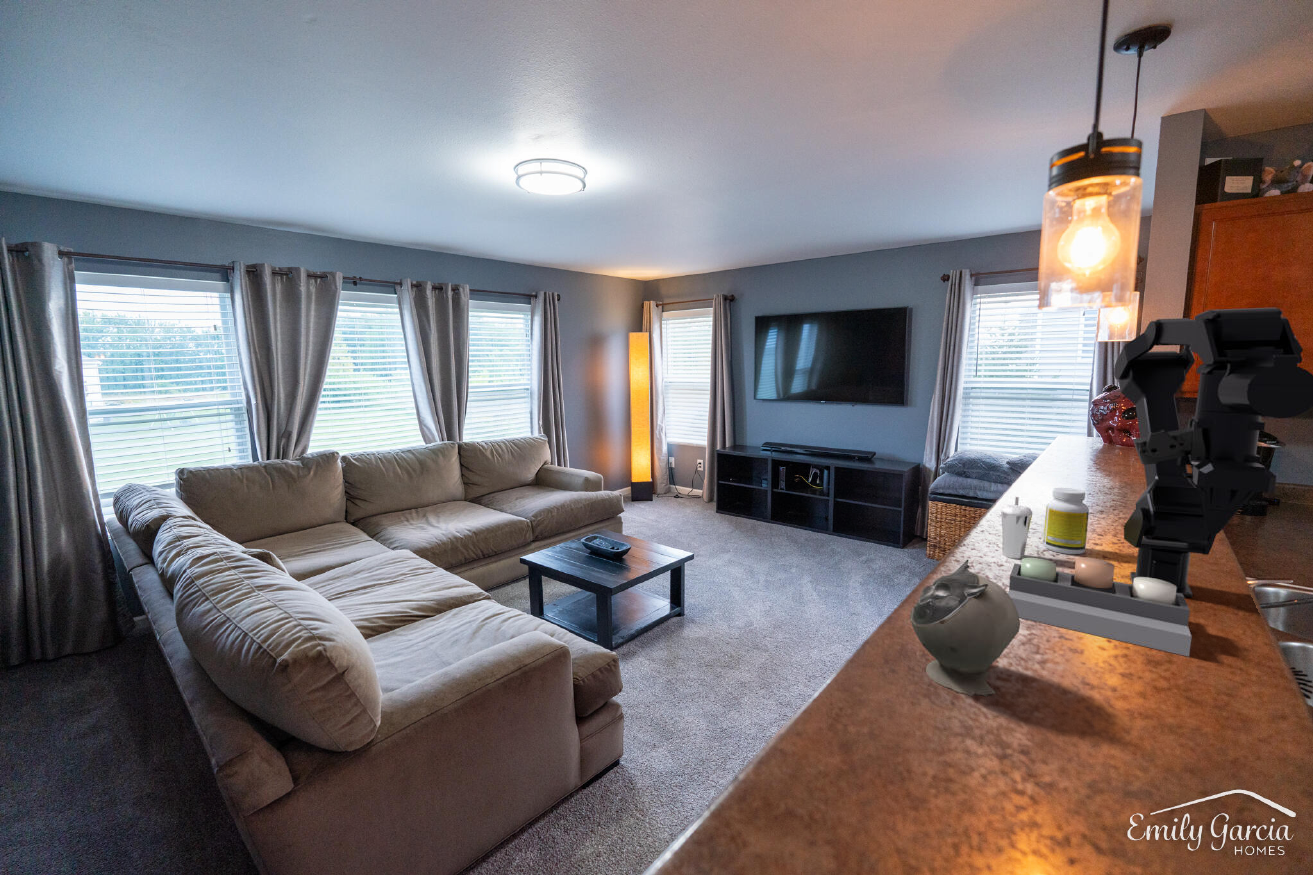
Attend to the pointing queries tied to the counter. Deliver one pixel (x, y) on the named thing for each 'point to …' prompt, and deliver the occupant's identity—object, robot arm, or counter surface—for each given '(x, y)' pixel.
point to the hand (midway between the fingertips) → (1211, 532)
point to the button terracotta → (1094, 572)
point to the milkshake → (1015, 529)
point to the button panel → (1102, 611)
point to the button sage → (1038, 569)
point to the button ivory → (1154, 590)
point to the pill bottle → (1066, 522)
